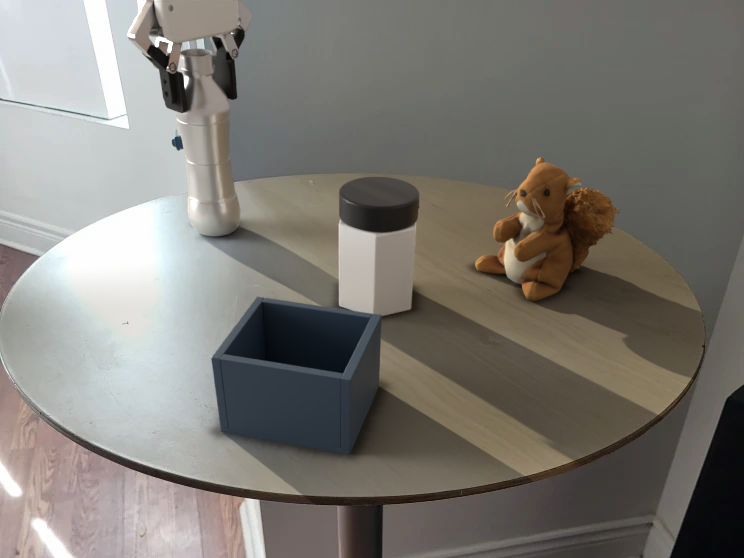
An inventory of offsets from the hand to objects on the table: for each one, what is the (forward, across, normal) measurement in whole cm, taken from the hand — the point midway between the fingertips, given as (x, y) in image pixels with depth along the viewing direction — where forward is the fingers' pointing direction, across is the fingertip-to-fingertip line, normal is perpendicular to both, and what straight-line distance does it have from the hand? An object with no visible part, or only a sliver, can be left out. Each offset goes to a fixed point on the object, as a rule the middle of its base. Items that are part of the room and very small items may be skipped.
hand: (201, 101), depth 87 cm
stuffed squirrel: (+15, -19, +36) cm, 44 cm away
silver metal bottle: (+15, 0, 0) cm, 15 cm away
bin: (+15, +19, +35) cm, 43 cm away
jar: (+15, -1, +26) cm, 30 cm away
